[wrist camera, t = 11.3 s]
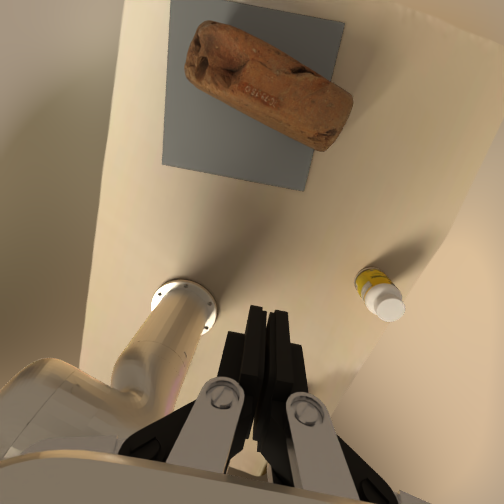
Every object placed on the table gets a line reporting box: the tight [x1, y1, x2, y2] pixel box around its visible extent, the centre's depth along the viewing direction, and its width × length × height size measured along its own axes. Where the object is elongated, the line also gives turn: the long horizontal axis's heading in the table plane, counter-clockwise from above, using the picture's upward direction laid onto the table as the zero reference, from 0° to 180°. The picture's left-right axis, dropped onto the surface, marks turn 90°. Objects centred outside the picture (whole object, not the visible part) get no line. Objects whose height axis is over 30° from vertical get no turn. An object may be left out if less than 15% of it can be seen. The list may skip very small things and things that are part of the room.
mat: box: [162, 0, 345, 191], centre depth 40 cm, size 22×23×1 cm
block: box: [184, 20, 353, 152], centre depth 35 cm, size 11×8×20 cm
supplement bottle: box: [354, 267, 405, 322], centre depth 44 cm, size 5×5×10 cm
